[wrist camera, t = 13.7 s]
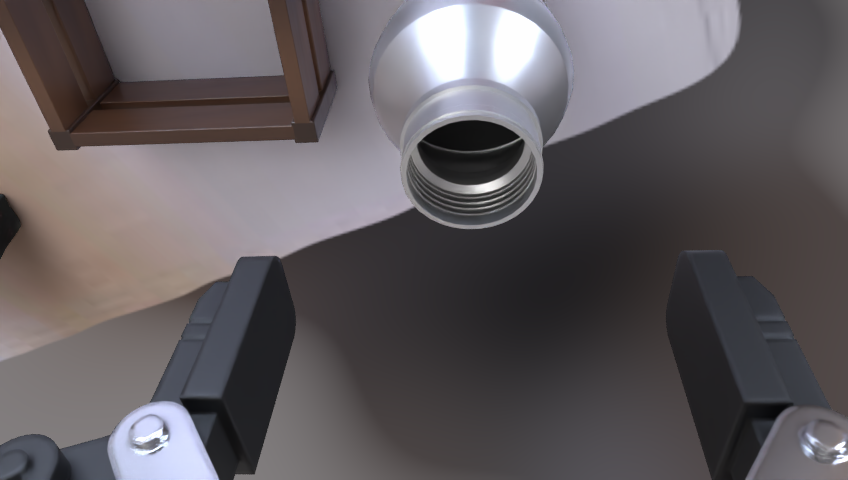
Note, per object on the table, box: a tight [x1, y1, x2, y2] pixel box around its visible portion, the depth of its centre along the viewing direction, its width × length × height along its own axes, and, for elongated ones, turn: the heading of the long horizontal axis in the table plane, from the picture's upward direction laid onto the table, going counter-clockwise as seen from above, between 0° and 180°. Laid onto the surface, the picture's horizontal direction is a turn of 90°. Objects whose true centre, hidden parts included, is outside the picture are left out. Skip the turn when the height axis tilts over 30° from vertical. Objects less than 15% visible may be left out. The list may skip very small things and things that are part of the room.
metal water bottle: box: [369, 0, 574, 229], centre depth 25 cm, size 6×7×20 cm
